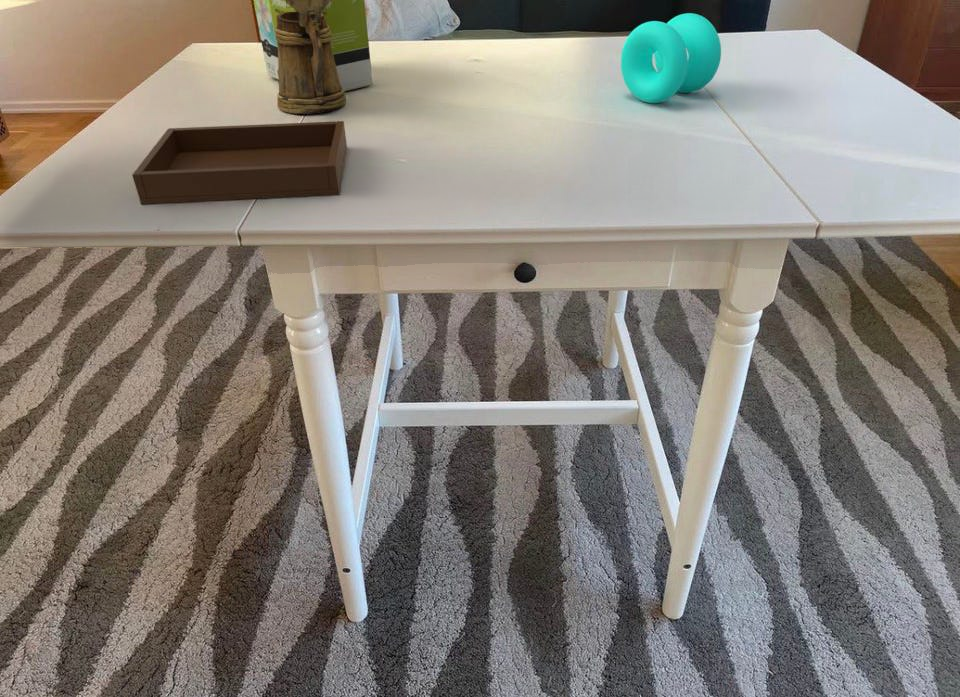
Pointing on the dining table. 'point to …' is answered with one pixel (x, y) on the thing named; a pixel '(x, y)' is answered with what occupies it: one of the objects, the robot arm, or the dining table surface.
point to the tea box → (346, 44)
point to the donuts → (670, 57)
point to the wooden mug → (306, 60)
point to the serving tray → (243, 163)
